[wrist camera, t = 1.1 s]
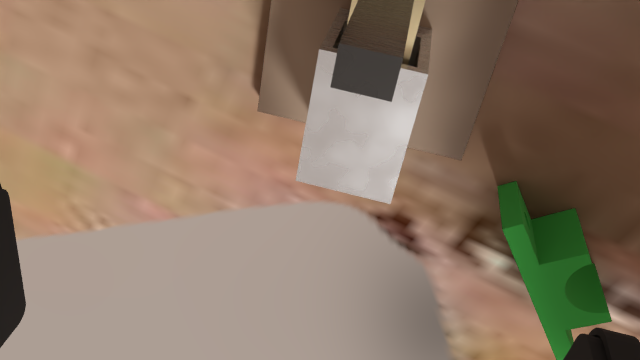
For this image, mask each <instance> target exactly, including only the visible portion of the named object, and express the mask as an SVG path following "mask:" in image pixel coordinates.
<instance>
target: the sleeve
mask: <svg viewBox="0 0 640 360" xmlns="http://www.w3.org/2000/svg"><path fill="white" fill-rule="evenodd" d="M349 12H350V10H347V9H343V8H340V9H339V11H338V13H337V15H336V17H335V19H334V21H333V23H332V25H331V27H330V29H329V31H328V33H327V35H326V37H325V39H324V41H323V43H322V45H321V47H320V48H319V53H318V59H317V64H316V70H315V76H314V81H313V87H312V92H311V98H310V104H309V109H308V115H307V120H306V126H305V132H304V137H303V143H302V148H301V154H300V160H299V165H298V171H297V177H296V181H299V182H303V183H307V184H311V185H315V186H320V187H324V188H328V189H332V190H336V191H340V192H344V193H348V194H352V195H356V196H360V197H364V198H368V199H372V200H376V201H380V202H384V203H388V204H390V203H391V200H392V197H393V193H394V190H395V186H396V183H397V180H398V176H399V173H400V169H401V166H402V162H403V159H404V156H405V152H406V149H407V145H408V142H409V139H410V135H411V132H412V128H413V125H414V122H415V118H416V115H417V111H418V108H419V105H420V101H421V98H422V94H423V91H424V87H425V84H426V81H427V77H428V72H429V61H430V50H431V39H432V29H430V28H426V27H421V26H418V30H417V34H416V38H415V41H414V45H413V49H412V52H411V56H410V60H409V64H408V65H405V64H402V65H401V69H400V72H399V76H398V80H397V84H396V88H395V91H394V95H393V99H392V102H390V101H385V100H381V99H377V98H373V97H369V96H364V95H360V94H356V93H352V92H348V91H343V90H339V89H335V88H331V87H330V86H331V81H332V76H333V71H334V66H335V61H336V56H337V50H338V45H339V42H340V40H341V37H342V35H343V33H344V31H345V28H346V26H347V22H348V17H349Z"/></svg>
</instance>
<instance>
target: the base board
mask: <svg viewBox="0 0 640 360" xmlns="http://www.w3.org/2000/svg"><path fill="white" fill-rule="evenodd" d="M351 2H352V0H271V7H270V15H269V23H268V31H267V39H266V47H265V55H264V63H263V71H262V79H261V87H260V95H259V103H258V111H259V112H263V113H267V114H271V115H275V116H279V117H283V118H288V119H292V120H296V121H300V122H304V123H306V120H307V115H308V109H309V104H310V98H311V92H312V87H313V81H314V76H315V70H316V64H317V59H318V53H319V48H320V47H321V45H322V43H323V41H324V39H325V37H326V35H327V33H328V31H329V29H330V27H331V25H332V23H333V21H334V19H335V17H336V15H337V13H338V11H339V9H340V8H343V9H347V10H350V7H351ZM517 3H518V0H426V1H425V4H424V8H423V12H422V15H421V19H420V23H419V26H421V27H426V28H430V29H432V39H431V50H430V61H429V72H428V77H427V81H426V84H425V87H424V91H423V94H422V98H421V101H420V105H419V108H418V111H417V115H416V118H415V122H414V125H413V128H412V132H411V135H410V139H409V142H408V145H407V148H412V149H416V150H420V151H424V152H428V153H432V154H436V155H441V156H445V157H449V158H453V159H457V160H462V157H463V154H464V151H465V149H466V146H467V143H468V140H469V137H470V135H471V132H472V129H473V126H474V123H475V121H476V118H477V115H478V112H479V109H480V107H481V104H482V101H483V98H484V95H485V93H486V90H487V87H488V84H489V82H490V79H491V76H492V73H493V70H494V68H495V65H496V62H497V59H498V56H499V54H500V51H501V48H502V45H503V42H504V40H505V37H506V34H507V31H508V28H509V26H510V23H511V20H512V17H513V14H514V12H515V9H516V6H517Z"/></svg>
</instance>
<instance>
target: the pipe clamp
mask: <svg viewBox="0 0 640 360" xmlns="http://www.w3.org/2000/svg"><path fill="white" fill-rule="evenodd" d="M498 195H499V204H500V213H501V221H502V230H503V232H504V234H505V237H506V239H507V242H508V244H509V246H510V249H511V251H512V254H513V256H514V258H515V261H516V263H517V266H518V268H519V271H520V273H521V275H522V278H523V280H524V283H525V285H526V287H527V290H528V292H529V295H530V297H531V300H532V302H533V304H534V307H535V309H536V312H537V314H538V316H539V319H540V321H541V324H542V326H543V328H544V331H545V333H546V336H547V338H548V341H549V343H550V345H551V348H552V350H553V353H554V355H555V357H556V360H563V359H564V358H565V356H566V354H567V353H568V351H569V349H570V348H571V346H572V345H573V343H574V342H573V337H572V332H571V329H575V328H580V327H585V326H591V325H596V324H601V323H606V322H611V321H612V320H611V317H610V313H609V310H608V307H607V303H606V300H605V297H604V293H603V290H602V287H601V283H600V280H599V277H598V273H597V270H596V267H595V264H594V263H593V264H592V262H591V259H590V255H589V252H588V248H587V245H586V242H585V238H584V235H583V231H582V228H581V225H580V221H579V218H578V215H577V212H576V209H575V208H573V209H569V210H566V211H562V212H558V213H554V214H550V215H546V216H543V217H539V218H535V219H531V218H530V215H529V213H528V210H527V208H526V205H525V203H524V200H523V197H522V195H521V192H520V190H519V187H518V184H517V182H516V181H514V182H511V183H507V184H504V185H500V186H498Z"/></svg>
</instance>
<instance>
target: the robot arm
mask: <svg viewBox="0 0 640 360" xmlns="http://www.w3.org/2000/svg"><path fill="white" fill-rule="evenodd" d="M25 306H26V302H25V296H24V289H23V282H22V276H21V269H20V263H19V256H18V250H17V244H16V237H15V231H14V224H13V218H12V211H11V205H10V199H9V195H8V192H7V191H6V190H4V189H2V187H1V184H0V347H1V346H2V345H3V344H4V342H5V341H6V340H7V338H8V337H9V336H10V335H11V333H12V332H13V331H14V330H15V328H16V327H17V326H18V324H19V323H20V321H21V319H22V317H23V315H24V312H25ZM563 360H640V342H639V340H638V339H637V338H636V337H634V336H630V335H626V334H622V333H618V332H614V331H610V330H606V329H602V328H595V329H593V330H592V331H591V332H590V333H589V335H587V334H580V335H579V336H578V337H577V338H576V340H575V341H574V343H573V345H572V346H571V348H570V349H569V351H568V353H567V354H566V356H565V358H564V359H563Z"/></svg>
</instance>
